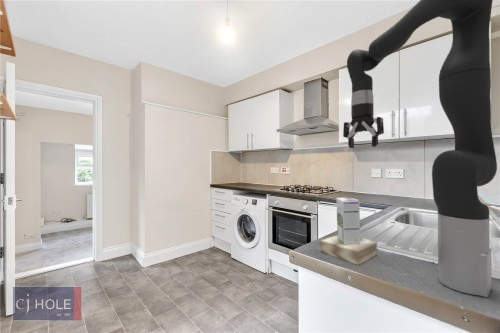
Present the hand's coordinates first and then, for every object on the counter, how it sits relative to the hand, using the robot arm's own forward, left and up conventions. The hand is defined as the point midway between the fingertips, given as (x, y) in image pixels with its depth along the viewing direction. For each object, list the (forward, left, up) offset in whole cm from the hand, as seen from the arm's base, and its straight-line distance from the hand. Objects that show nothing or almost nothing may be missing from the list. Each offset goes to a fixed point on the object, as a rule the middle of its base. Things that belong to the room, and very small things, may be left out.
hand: (362, 147), depth 86 cm
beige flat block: (-2, +14, -36) cm, 39 cm away
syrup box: (-2, +14, -32) cm, 36 cm away
